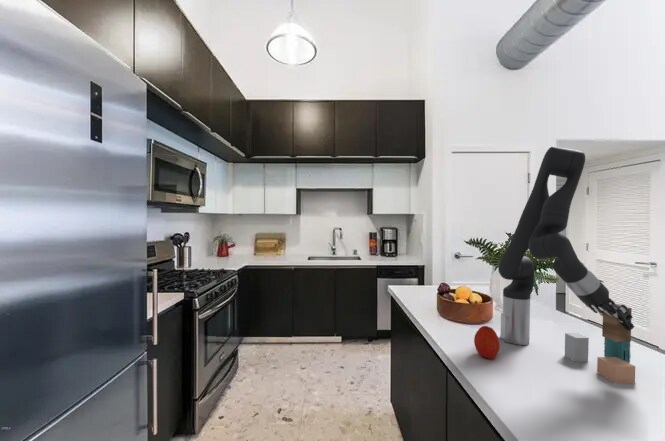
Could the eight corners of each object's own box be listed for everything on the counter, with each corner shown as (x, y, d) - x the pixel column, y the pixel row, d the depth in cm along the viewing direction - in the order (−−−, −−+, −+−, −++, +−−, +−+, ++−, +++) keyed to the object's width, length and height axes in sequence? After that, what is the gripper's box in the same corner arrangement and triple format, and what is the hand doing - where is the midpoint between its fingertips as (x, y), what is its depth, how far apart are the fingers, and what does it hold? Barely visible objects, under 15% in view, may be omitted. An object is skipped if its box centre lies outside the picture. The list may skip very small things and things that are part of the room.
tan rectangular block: (616, 341, 92) (617, 308, 92) (602, 336, 96) (603, 303, 96) (630, 341, 92) (631, 308, 92) (616, 336, 96) (617, 304, 96)
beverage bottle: (625, 371, 98) (626, 308, 98) (599, 362, 104) (600, 303, 104) (634, 367, 101) (635, 305, 101) (608, 358, 107) (609, 300, 107)
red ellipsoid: (469, 350, 112) (470, 321, 112) (492, 351, 111) (493, 321, 111) (479, 361, 103) (480, 329, 103) (504, 362, 103) (505, 329, 103)
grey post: (575, 361, 104) (575, 337, 104) (564, 355, 109) (565, 332, 109) (588, 361, 105) (588, 337, 105) (576, 355, 109) (577, 332, 109)
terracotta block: (615, 383, 91) (615, 366, 91) (597, 373, 97) (597, 357, 97) (634, 383, 91) (635, 366, 91) (615, 372, 97) (615, 357, 97)
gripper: (616, 281, 86) (656, 325, 87) (574, 272, 101) (609, 309, 101) (597, 300, 86) (638, 343, 87) (558, 288, 101) (593, 326, 101)
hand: (622, 325), depth 94 cm, fingers closed on tan rectangular block, 4 cm apart
